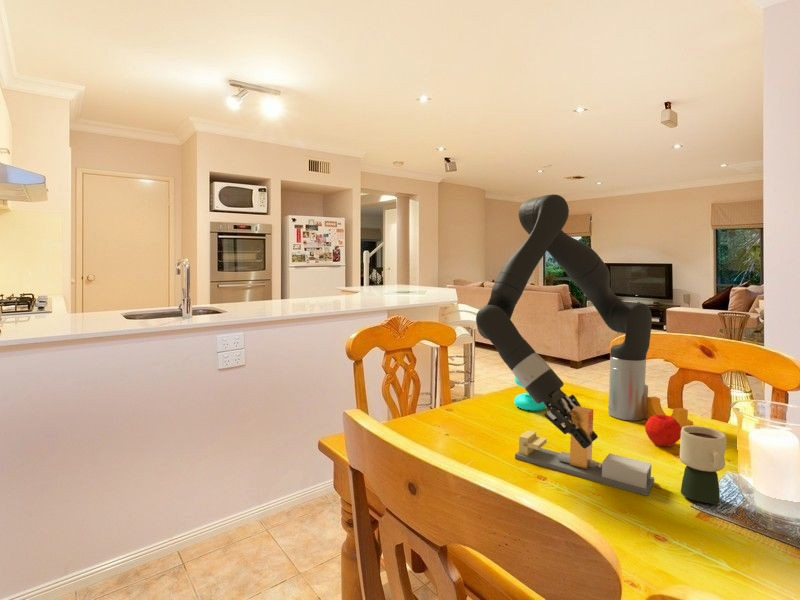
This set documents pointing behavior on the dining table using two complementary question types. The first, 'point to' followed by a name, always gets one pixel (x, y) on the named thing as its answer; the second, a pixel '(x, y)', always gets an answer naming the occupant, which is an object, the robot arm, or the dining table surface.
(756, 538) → the dining table surface
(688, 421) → the pipe clamp
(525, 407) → the donuts
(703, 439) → the mug on green stand
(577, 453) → the orange-brown upright block
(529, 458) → the board
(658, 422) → the apple
